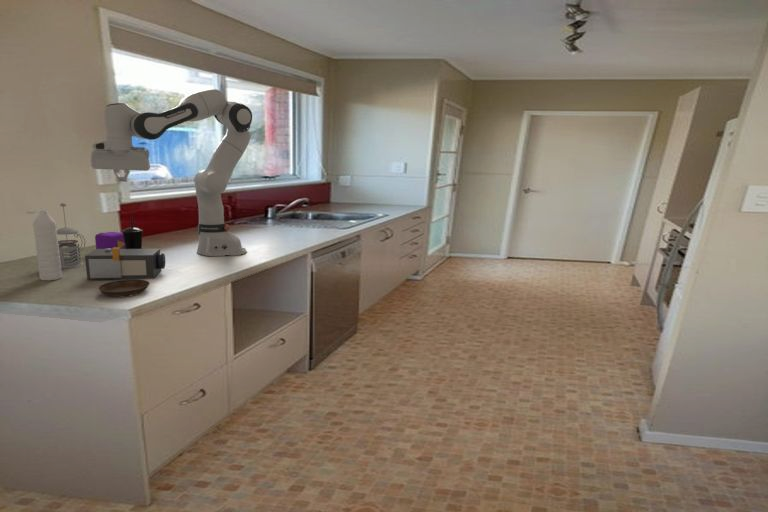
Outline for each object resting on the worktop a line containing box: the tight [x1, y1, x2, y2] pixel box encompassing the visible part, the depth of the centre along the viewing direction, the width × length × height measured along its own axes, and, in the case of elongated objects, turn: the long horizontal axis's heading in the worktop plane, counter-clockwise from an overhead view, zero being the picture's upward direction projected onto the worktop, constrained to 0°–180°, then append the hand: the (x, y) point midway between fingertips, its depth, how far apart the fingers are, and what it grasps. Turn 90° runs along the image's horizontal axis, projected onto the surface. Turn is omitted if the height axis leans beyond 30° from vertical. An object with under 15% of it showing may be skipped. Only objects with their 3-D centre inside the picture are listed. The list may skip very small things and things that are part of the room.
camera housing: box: [84, 248, 166, 281], centre depth 167 cm, size 24×12×10 cm, turn 103°
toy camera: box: [94, 231, 126, 250], centre depth 201 cm, size 11×14×10 cm
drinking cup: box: [121, 214, 144, 249], centre depth 185 cm, size 8×8×20 cm
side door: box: [88, 248, 122, 278], centre depth 158 cm, size 10×2×11 cm, turn 103°
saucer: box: [97, 279, 151, 298], centre depth 148 cm, size 15×15×3 cm
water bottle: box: [26, 208, 63, 282], centre depth 155 cm, size 9×6×25 cm
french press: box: [56, 202, 86, 269], centre depth 176 cm, size 10×12×25 cm
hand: (122, 181), depth 176 cm, fingers closed
